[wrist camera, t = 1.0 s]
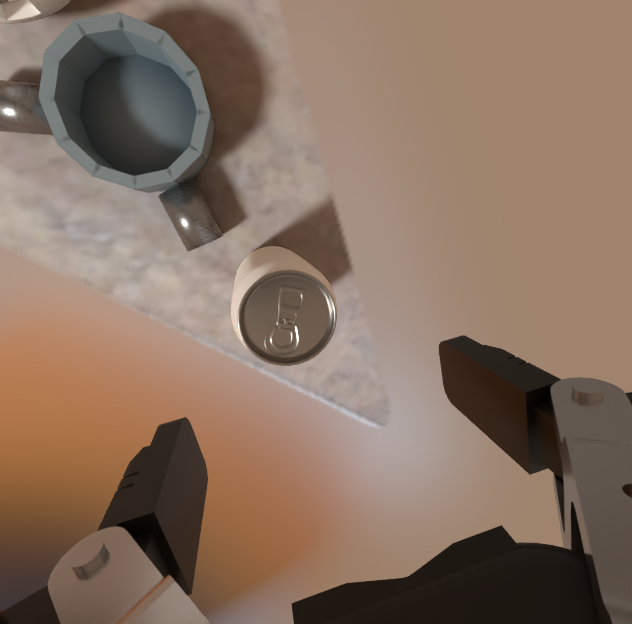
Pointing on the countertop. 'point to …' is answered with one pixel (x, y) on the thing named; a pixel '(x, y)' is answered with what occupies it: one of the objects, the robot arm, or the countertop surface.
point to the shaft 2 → (190, 215)
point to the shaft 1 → (22, 109)
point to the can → (282, 307)
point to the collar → (126, 103)
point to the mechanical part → (28, 10)
